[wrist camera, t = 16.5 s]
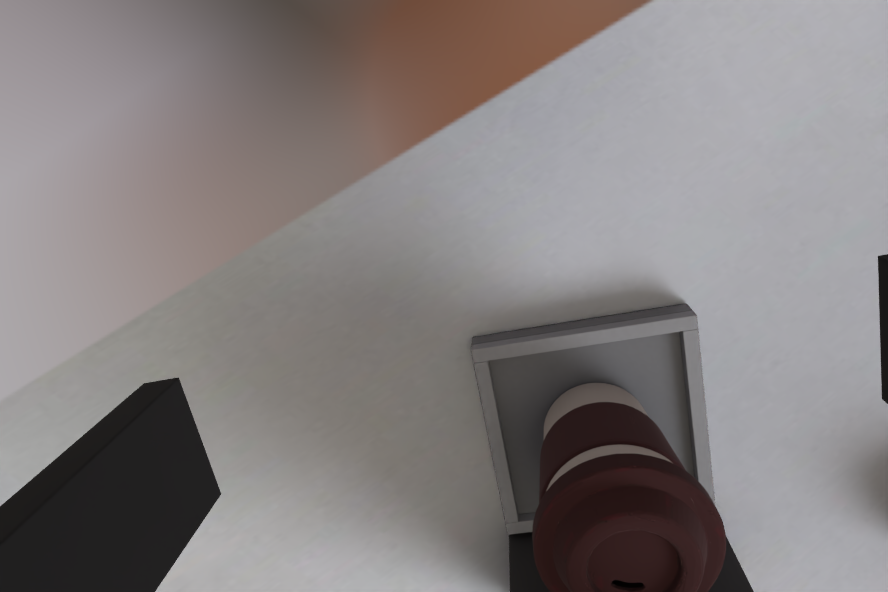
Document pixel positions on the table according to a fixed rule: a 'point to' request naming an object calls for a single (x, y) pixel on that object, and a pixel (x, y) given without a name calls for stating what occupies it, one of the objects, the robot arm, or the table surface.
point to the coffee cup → (619, 502)
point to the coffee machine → (580, 362)
